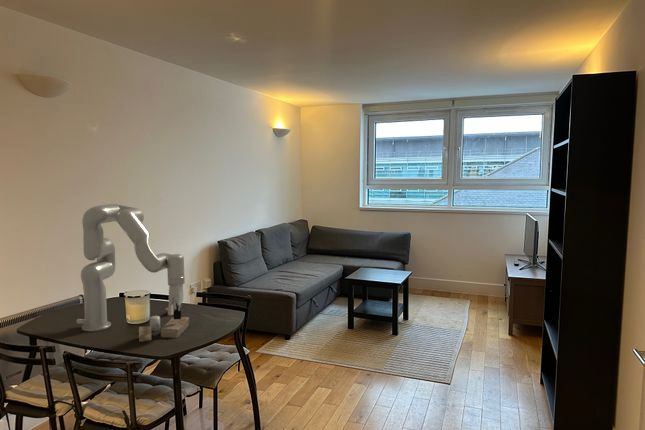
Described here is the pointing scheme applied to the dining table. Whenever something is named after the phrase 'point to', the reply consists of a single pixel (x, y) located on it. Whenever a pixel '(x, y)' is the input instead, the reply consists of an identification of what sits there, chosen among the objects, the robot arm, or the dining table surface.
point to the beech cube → (145, 333)
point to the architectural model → (170, 310)
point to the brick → (174, 327)
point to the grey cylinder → (155, 323)
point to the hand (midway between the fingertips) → (177, 318)
